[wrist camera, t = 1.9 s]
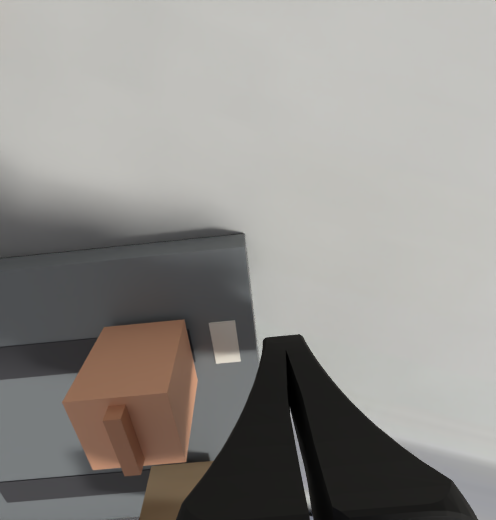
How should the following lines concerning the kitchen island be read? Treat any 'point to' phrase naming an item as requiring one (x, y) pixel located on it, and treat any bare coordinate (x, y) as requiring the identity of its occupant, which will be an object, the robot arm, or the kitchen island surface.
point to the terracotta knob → (135, 397)
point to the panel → (82, 341)
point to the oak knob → (170, 489)
